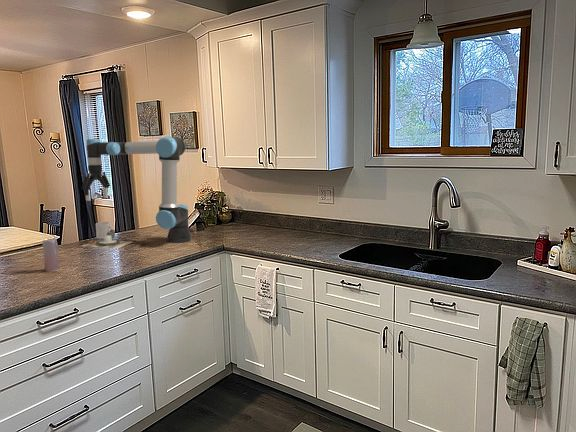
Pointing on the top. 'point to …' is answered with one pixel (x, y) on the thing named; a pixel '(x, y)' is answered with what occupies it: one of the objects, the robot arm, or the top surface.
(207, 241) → the top surface
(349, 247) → the top surface
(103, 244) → the board
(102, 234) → the mug
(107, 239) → the dial
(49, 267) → the beverage can
